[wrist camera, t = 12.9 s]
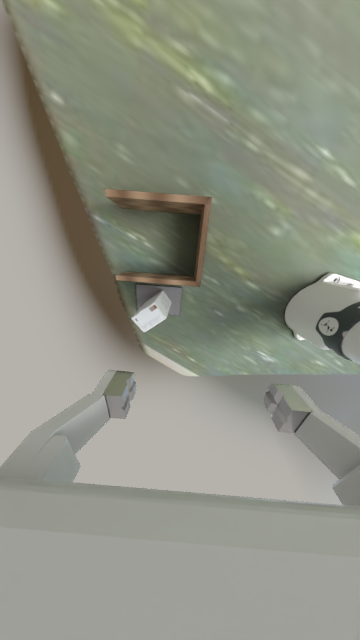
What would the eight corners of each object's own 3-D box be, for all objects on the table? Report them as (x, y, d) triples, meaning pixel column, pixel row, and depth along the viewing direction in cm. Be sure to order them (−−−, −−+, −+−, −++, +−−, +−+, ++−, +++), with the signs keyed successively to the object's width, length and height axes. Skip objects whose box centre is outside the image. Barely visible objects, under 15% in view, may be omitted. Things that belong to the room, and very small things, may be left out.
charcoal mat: (181, 287, 37) (181, 287, 37) (179, 315, 41) (179, 315, 40) (136, 283, 37) (135, 284, 37) (138, 311, 41) (137, 312, 40)
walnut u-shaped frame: (206, 209, 30) (211, 197, 23) (197, 281, 36) (200, 286, 30) (122, 202, 30) (105, 188, 24) (128, 275, 36) (116, 280, 30)
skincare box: (155, 312, 40) (144, 335, 29) (145, 300, 38) (129, 318, 28) (172, 301, 38) (167, 320, 27) (162, 287, 37) (153, 302, 26)
